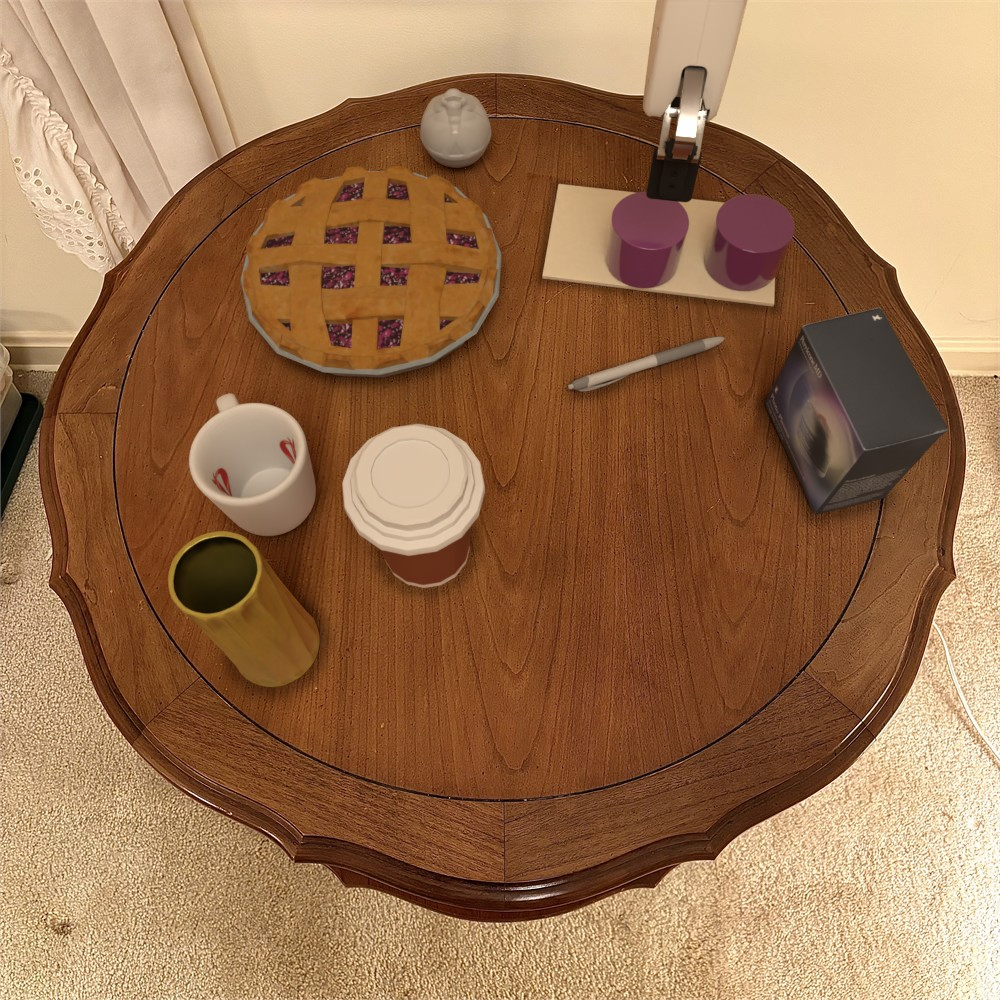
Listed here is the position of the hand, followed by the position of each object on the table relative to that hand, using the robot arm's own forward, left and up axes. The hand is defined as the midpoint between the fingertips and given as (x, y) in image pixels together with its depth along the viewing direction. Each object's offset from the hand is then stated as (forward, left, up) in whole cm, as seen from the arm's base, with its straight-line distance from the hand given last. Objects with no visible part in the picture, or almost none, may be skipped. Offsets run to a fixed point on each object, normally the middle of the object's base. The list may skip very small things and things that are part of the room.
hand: (672, 149), depth 63 cm
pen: (-1, +11, -13) cm, 17 cm away
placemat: (-1, -3, -13) cm, 13 cm away
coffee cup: (+14, +29, -13) cm, 35 cm away
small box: (-15, +16, -13) cm, 26 cm away
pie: (+23, +6, -13) cm, 27 cm away
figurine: (+19, -11, -13) cm, 25 cm away
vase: (+23, +38, -13) cm, 46 cm away
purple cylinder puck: (-8, -1, -12) cm, 15 cm away
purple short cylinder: (+1, 0, -12) cm, 12 cm away
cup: (+27, +26, -13) cm, 40 cm away
